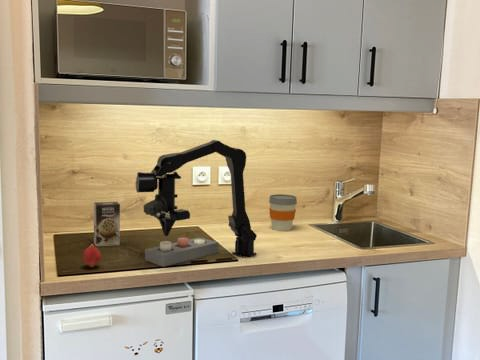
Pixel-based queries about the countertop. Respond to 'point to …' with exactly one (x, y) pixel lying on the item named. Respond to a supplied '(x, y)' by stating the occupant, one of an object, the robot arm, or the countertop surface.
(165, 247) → the button pale left
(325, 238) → the countertop surface
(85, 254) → the onion
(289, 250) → the countertop surface
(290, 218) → the reusable coffee cup
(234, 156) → the robot arm
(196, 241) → the button pale right
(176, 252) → the button panel
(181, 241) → the button red middle
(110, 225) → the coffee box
